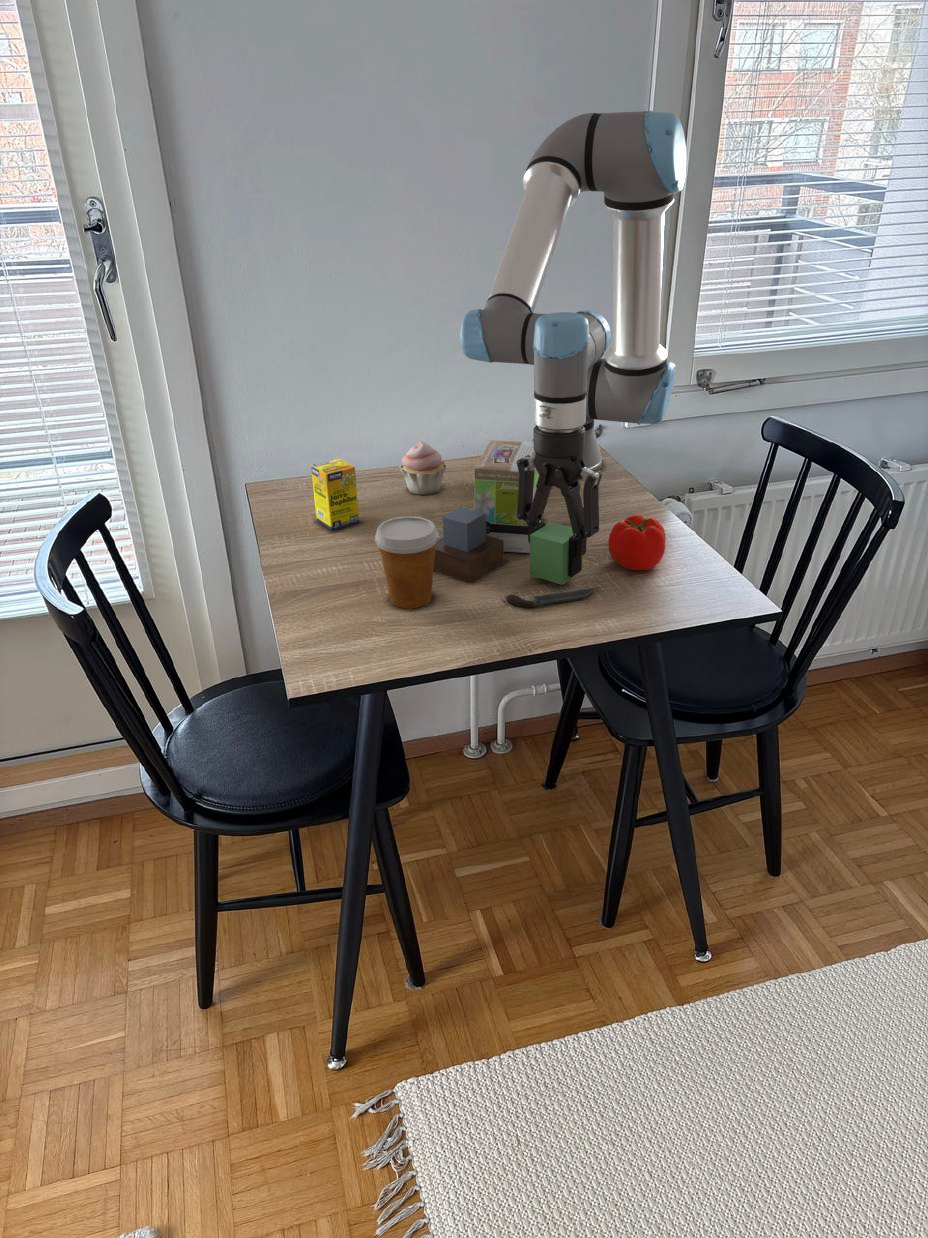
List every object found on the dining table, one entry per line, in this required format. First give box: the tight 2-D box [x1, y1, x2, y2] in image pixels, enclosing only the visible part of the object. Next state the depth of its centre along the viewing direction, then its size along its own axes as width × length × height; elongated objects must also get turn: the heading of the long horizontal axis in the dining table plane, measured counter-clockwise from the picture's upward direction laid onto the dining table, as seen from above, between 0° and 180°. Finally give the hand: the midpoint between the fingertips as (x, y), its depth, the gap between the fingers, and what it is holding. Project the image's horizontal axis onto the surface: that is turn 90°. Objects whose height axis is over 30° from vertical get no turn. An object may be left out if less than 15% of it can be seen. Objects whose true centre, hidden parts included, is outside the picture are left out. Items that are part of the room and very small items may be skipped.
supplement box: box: [310, 458, 360, 532], centre depth 167 cm, size 6×6×11 cm
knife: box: [506, 586, 596, 608], centre depth 142 cm, size 14×4×1 cm, turn 104°
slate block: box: [441, 506, 486, 552], centre depth 150 cm, size 5×5×5 cm
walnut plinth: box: [433, 535, 505, 584], centre depth 152 cm, size 9×9×4 cm
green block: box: [529, 521, 584, 586], centre depth 145 cm, size 6×6×7 cm
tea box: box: [474, 439, 542, 554], centre depth 159 cm, size 15×10×15 cm, turn 168°
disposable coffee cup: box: [374, 515, 439, 609], centre depth 141 cm, size 10×10×12 cm
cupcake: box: [398, 439, 448, 496], centre depth 180 cm, size 9×9×10 cm
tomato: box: [607, 514, 667, 571], centre depth 150 cm, size 9×9×8 cm
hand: (556, 567), depth 147 cm, fingers closed on green block, 6 cm apart
